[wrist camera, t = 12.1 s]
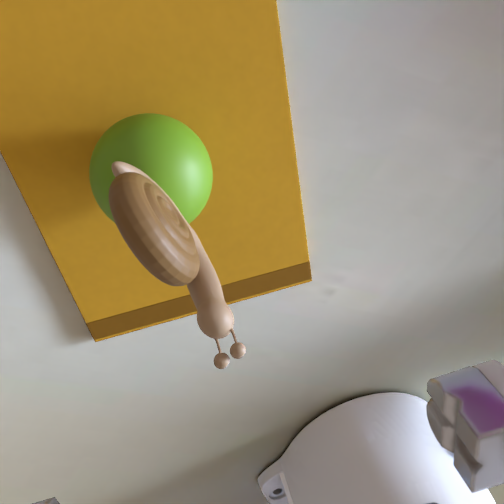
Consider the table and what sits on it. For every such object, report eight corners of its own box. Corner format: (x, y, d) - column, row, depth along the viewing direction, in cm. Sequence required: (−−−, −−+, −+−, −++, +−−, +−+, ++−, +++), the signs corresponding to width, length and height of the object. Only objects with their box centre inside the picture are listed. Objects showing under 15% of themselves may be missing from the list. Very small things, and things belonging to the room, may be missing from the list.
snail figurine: (153, 234, 26) (170, 407, 16) (67, 143, 23) (23, 292, 13) (234, 179, 25) (304, 322, 15) (159, 75, 22) (188, 177, 12)
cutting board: (310, 277, 31) (312, 281, 30) (95, 338, 29) (95, 342, 29) (260, -103, 20) (263, -104, 19) (-88, -33, 18) (-93, -33, 18)
